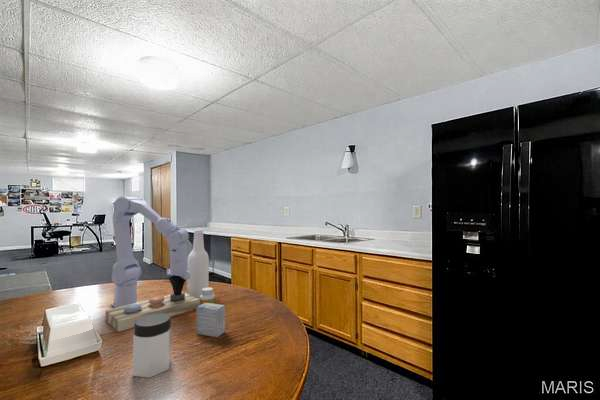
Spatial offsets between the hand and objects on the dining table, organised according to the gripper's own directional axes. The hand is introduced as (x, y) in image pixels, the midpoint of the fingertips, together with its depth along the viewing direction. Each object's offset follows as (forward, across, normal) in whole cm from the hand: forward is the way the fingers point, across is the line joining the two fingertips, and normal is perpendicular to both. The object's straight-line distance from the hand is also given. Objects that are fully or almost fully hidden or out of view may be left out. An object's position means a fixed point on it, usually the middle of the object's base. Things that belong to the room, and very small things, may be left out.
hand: (177, 294), depth 110 cm
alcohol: (+6, -6, +12) cm, 15 cm away
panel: (+5, -1, -8) cm, 10 cm away
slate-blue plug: (+5, -1, -16) cm, 17 cm away
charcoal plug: (+5, 0, 0) cm, 5 cm away
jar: (+6, +34, -24) cm, 42 cm away
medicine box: (+6, +29, -4) cm, 30 cm away
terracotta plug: (+4, 0, -8) cm, 9 cm away
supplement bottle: (+6, +15, +3) cm, 16 cm away
